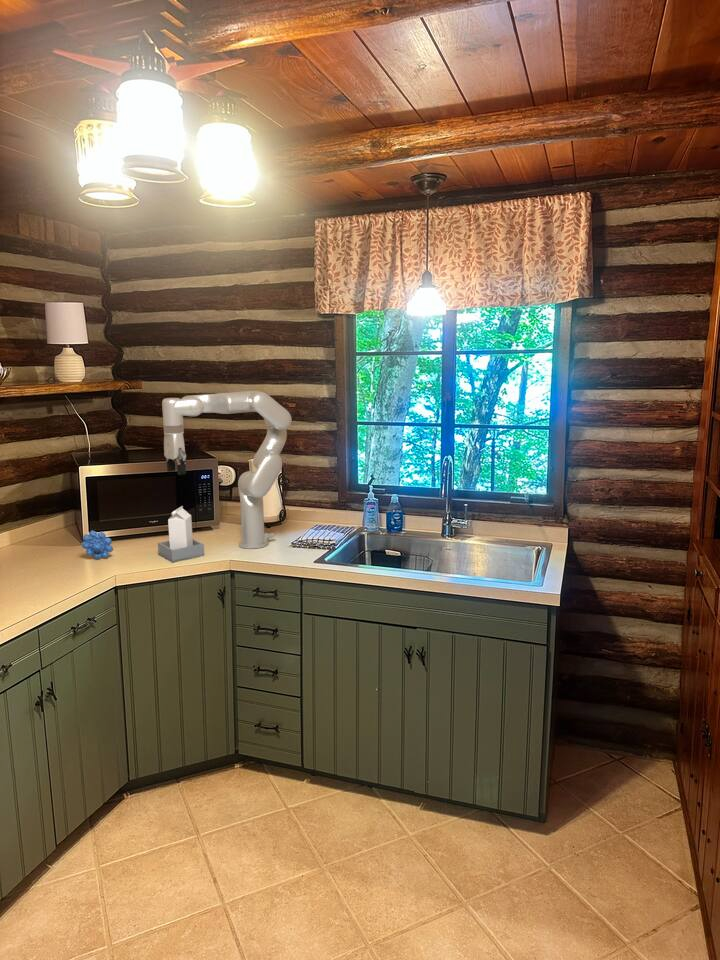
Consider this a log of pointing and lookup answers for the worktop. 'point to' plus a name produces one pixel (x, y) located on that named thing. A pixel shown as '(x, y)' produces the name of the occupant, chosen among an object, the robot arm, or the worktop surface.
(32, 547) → the worktop surface
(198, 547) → the bin
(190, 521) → the milk carton
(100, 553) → the grapes
